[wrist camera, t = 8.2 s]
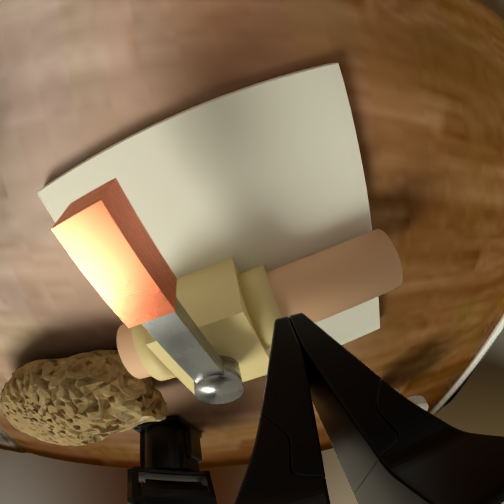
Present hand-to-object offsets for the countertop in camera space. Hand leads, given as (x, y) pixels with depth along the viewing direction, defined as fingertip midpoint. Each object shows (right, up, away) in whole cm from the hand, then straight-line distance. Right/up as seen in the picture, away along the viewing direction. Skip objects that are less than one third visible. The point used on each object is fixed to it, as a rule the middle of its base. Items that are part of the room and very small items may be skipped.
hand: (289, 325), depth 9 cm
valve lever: (-5, 0, +5) cm, 7 cm away
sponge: (-19, -11, +17) cm, 28 cm away
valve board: (-2, +1, +12) cm, 12 cm away
